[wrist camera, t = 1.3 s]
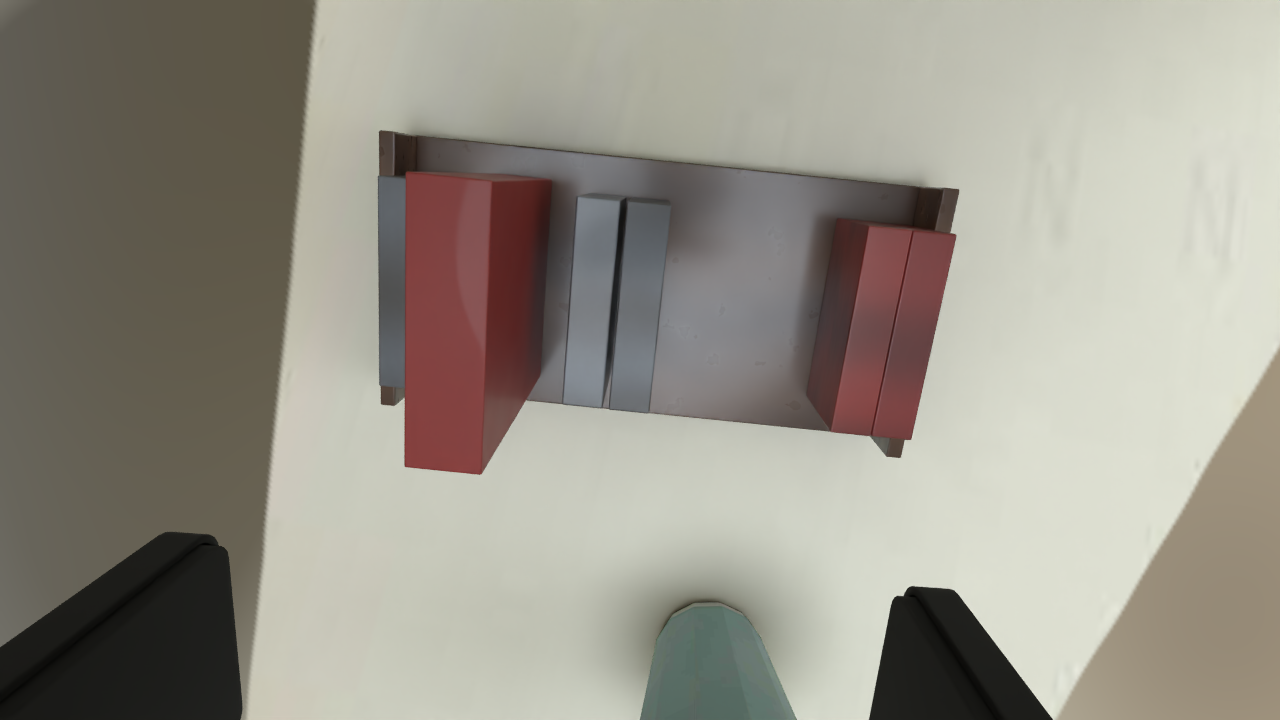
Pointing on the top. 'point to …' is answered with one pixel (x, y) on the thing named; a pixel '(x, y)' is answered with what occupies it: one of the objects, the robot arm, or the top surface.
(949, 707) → the robot arm
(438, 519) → the top surface
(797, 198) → the book rack
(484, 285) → the red book
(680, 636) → the disposable coffee cup
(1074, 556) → the top surface
